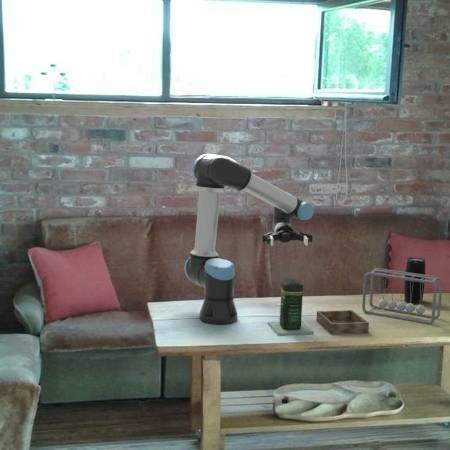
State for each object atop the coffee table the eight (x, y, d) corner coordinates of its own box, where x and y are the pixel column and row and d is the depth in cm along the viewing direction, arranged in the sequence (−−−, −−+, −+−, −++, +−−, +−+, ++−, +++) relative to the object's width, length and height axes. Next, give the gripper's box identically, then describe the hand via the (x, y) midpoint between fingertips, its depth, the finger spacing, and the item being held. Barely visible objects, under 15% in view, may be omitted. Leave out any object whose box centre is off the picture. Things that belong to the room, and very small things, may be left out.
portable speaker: (423, 299, 315) (426, 257, 311) (422, 305, 306) (426, 261, 302) (403, 297, 317) (406, 255, 314) (402, 303, 308) (406, 259, 305)
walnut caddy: (331, 334, 262) (331, 324, 261) (316, 320, 279) (316, 311, 278) (368, 332, 265) (369, 322, 265) (351, 319, 282) (352, 309, 281)
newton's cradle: (440, 319, 286) (443, 277, 283) (433, 325, 277) (437, 282, 274) (369, 307, 301) (372, 267, 298) (361, 312, 292) (363, 271, 289)
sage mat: (277, 335, 259) (277, 333, 259) (267, 323, 273) (267, 322, 273) (313, 333, 262) (313, 331, 262) (301, 322, 276) (302, 320, 276)
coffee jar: (303, 330, 263) (305, 283, 260) (282, 330, 262) (284, 283, 259) (297, 322, 273) (299, 276, 270) (277, 323, 272) (279, 276, 269)
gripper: (313, 241, 295) (321, 251, 274) (254, 241, 294) (257, 251, 273) (313, 223, 293) (321, 232, 272) (254, 223, 293) (258, 232, 272)
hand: (289, 242), depth 273 cm, fingers open, 13 cm apart
